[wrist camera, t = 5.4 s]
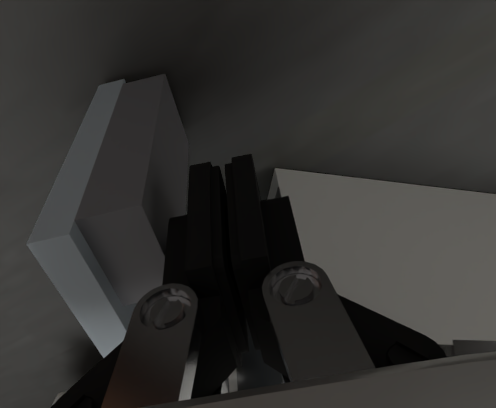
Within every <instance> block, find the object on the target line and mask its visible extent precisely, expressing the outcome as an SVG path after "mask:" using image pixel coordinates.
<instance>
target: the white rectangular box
mask: <svg viewBox="0 0 496 408" xmlns="http://www.w3.org/2000/svg"><path fill="white" fill-rule="evenodd" d="M284 196H289V199H290V203H291V207H292V211H293V215H294V219H295V224H296V228H297V232H298V236H299V240H300V244H301V248H302V252H303V256H304V260H305V262H309V263H312V264H315V265H317V266H318V267H320V268H322V269H323V270H324V272H325V273H326V274H327V275H328V277H329V279H330V281H331V283H332V285H333V287H334V289H335V291H336V293H337V294H338V295H340V296H343V297H345V298H347V299H349V300H351V301H353V302H355V303H358V304H360V305H362V306H364V307H366V308H368V309H370V310H372V311H375V312H377V313H379V314H381V315H383V316H385V317H387V318H390V319H392V320H394V321H396V322H398V323H400V324H402V325H405V326H407V327H409V328H411V329H413V330H415V331H417V332H419V333H422V334H424V335H426V336H427V337H429V338H431V339H432V340H434V341H435V342H436V343H437V344H443V345H452V340H482V341H496V194H490V193H482V192H474V191H465V190H457V189H448V188H440V187H431V186H423V185H414V184H406V183H398V182H389V181H381V180H372V179H364V178H355V177H347V176H338V175H330V174H322V173H313V172H305V171H296V170H288V169H279V168H275V170H274V173H273V177H272V181H271V185H270V189H269V193H268V197H267V200H268V199H274V198H279V197H284ZM246 320H247V319H246ZM247 332H248V343H249V352H245V353H241V354H242V367H238V368H236V369H235V370H234V371H233V372H232V373H231V375H230V376H229V392H235V391H241V390H247V389H253V388H259V387H265V386H271V385H277V384H283V379H282V375H281V373H279V372H278V371H276V370H275V369H273V368H272V367H270V366H268V365H267V364H265V363H264V361H263V358H262V354H261V350H255V348H254V344H253V341H252V337H251V333H250V330H249V326H248V322H247Z"/></svg>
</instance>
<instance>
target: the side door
mask: <svg viewBox="0 0 496 408" xmlns="http://www.w3.org/2000/svg"><path fill="white" fill-rule="evenodd" d="M188 158H189V142H188V139H187V136H186V133H185V131H184V128H183V125H182V122H181V119H180V116H179V113H178V110H177V107H176V104H175V101H174V98H173V95H172V92H171V89H170V87H169V84H168V81H167V78H166V75H165V74H161V75H157V76H153V77H149V78H145V79H141V80H137V81H133V82H129V83H126V81H125V79H122V80H118V81H114V82H110V83H106V84H102V85H99V86H98V88H97V91H96V93H95V95H94V97H93V99H92V101H91V104H90V106H89V108H88V110H87V112H86V115H85V117H84V119H83V121H82V123H81V126H80V128H79V130H78V132H77V134H76V136H75V139H74V141H73V143H72V145H71V147H70V150H69V152H68V154H67V156H66V158H65V160H64V163H63V165H62V167H61V169H60V171H59V174H58V176H57V178H56V180H55V182H54V185H53V187H52V189H51V191H50V193H49V195H48V198H47V200H46V202H45V204H44V206H43V209H42V211H41V213H40V215H39V217H38V220H37V222H36V224H35V226H34V228H33V230H32V233H31V235H30V237H29V239H28V241H27V246H28V247H29V249H30V250H31V252H32V253H33V255H34V256H35V258H36V259H37V261H38V262H39V264H40V265H41V267H42V268H43V270H44V271H45V272H46V274H47V275H48V277H49V278H50V280H51V281H52V283H53V284H54V286H55V287H56V289H57V290H58V292H59V293H60V295H61V296H62V298H63V299H64V301H65V302H66V303H67V305H68V306H69V308H70V309H71V311H72V312H73V314H74V315H75V317H76V318H77V320H78V321H79V323H80V324H81V326H82V327H83V329H84V330H85V332H86V333H87V334H88V336H89V337H90V339H91V340H92V342H93V343H94V345H95V346H96V348H97V349H98V351H99V352H100V354H101V355H102V357H103V358H105V357H106V356H107V355H108V354H109V353H110V352H111V351H112V350H114V349H115V348H116V347H117V346H118V345H119V344H120V343H121V342H122V341H123V340H124V337H125V334H126V331H127V328H128V325H129V322H130V319H131V316H132V313H133V310H134V308H135V306H136V305H137V303H138V301H139V300H140V299H141V298H142V297H143V296H144V295H145V294H146V293H148V292H149V291H151V290H152V289H154V288H157V287H159V286H161V285H162V282H163V272H164V262H165V252H166V242H167V232H168V223H169V219H170V218H172V217H178V216H183V215H186V196H187V177H188ZM226 380H227V382H228V393H229V377H228V378H227V379H226Z"/></svg>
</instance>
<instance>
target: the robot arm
mask: <svg viewBox="0 0 496 408" xmlns="http://www.w3.org/2000/svg"><path fill="white" fill-rule="evenodd" d="M225 176H226V190H225V186H224V182H223V178H222V174H221V170H220V167H219V166H214V167H212V165H211V162H207V163H201V164H196V165H191V166H190V171H189V191H188V212H187V215H183V216H178V217H172V218H170V219H169V223H168V232H167V242H166V252H165V262H164V272H163V282H162V285H161V286H159V287H157V288H154V289H152V290H151V291H149V292H148V293H146V294H145V295H144V296H143V297H142V298H141V299H140V300H139V301H138V303H137V305H136V306H135V308H134V310H133V313H132V316H131V319H130V322H129V325H128V328H127V331H126V334H125V337H124V340H123V341H122V342H121V343H120V344H119V345H118V346H117V347H116V348H115V349H114V350H112V351H111V352H110V353H109V354H108V355H107V356H106V357H105V358H103V359H102V360H101V361H100V362H99V363H98V364H97V365H96V366H95V367H93V368H92V369H91V370H90V371H89V372H88V373H87V374H86V375H85V376H83V377H82V378H81V379H80V380H79V381H78V382H77V383H76V384H74V385H73V386H72V387H71V388H70V389H69V390H68V391H67V392H66V393H64V394H63V395H62V396H61V397H60V398H59V399H58V400H57V401H56V402H55V403H54V404H53V406H52V407H51V408H496V341H482V340H452V345H443V344H437V343H436V342H435V341H434V340H432V339H431V338H429V337H427V336H426V335H424V334H422V333H419V332H417V331H415V330H413V329H411V328H409V327H407V326H405V325H402V324H400V323H398V322H396V321H394V320H392V319H390V318H387V317H385V316H383V315H381V314H379V313H377V312H375V311H372V310H370V309H368V308H366V307H364V306H362V305H360V304H358V303H355V302H353V301H351V300H349V299H347V298H345V297H343V296H340V295H338V294H337V293H336V291H335V289H334V287H333V285H332V283H331V281H330V279H329V277H328V275H327V274H326V273H325V272H324V270H323V269H322V268H320V267H318V266H317V265H315V264H312V263H309V262H305V260H304V256H303V252H302V248H301V244H300V240H299V236H298V232H297V228H296V224H295V219H294V215H293V211H292V207H291V203H290V199H289V196H284V197H279V198H274V199H268V200H263V201H261V198H260V193H259V188H258V183H257V178H256V173H255V168H254V163H253V158H252V154H248V155H243V156H238V157H232V163H230V164H225ZM226 192H227V194H226ZM246 319H247V320H246ZM247 322H248V326H249V330H250V333H251V337H252V341H253V344H254V348H255V350H261V354H262V358H263V361H264V363H265V364H267V365H268V366H270V367H272V368H273V369H275V370H276V371H278V372H279V373H281V375H282V379H283V384H277V385H271V386H265V387H259V388H253V389H247V390H241V391H235V392H229V393H228V382H227V380H226V379H227V378H228V377H229V376H230V375H231V373H232V372H233V371H234V370H235V369H236V368H238V367H242V354H241V353H245V352H249V343H248V332H247Z"/></svg>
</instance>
